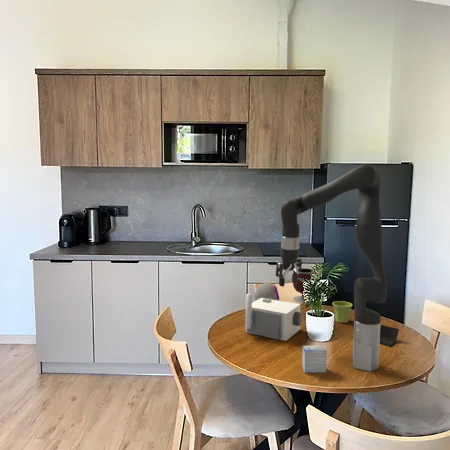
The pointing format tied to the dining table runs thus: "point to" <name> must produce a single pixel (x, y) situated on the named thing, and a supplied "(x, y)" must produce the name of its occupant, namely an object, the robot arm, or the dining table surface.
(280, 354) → the dining table surface
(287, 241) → the robot arm
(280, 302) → the cabinet housing
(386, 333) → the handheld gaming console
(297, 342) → the dining table surface
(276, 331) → the side door
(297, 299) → the mate gourd
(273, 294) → the grey rounded dome
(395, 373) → the dining table surface
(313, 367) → the medicine box
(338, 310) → the plant pot
